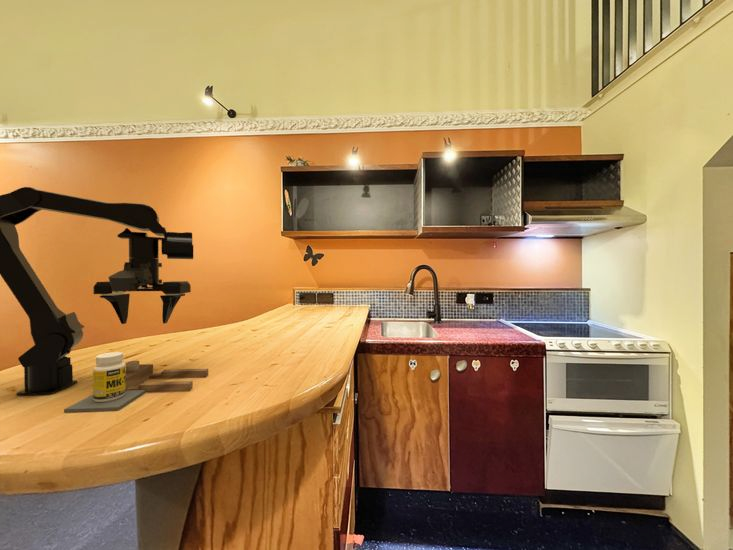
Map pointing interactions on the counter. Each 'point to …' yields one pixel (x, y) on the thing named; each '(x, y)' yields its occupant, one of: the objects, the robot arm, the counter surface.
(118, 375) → the supplement bottle
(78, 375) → the counter surface
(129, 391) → the mat
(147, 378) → the plane body
